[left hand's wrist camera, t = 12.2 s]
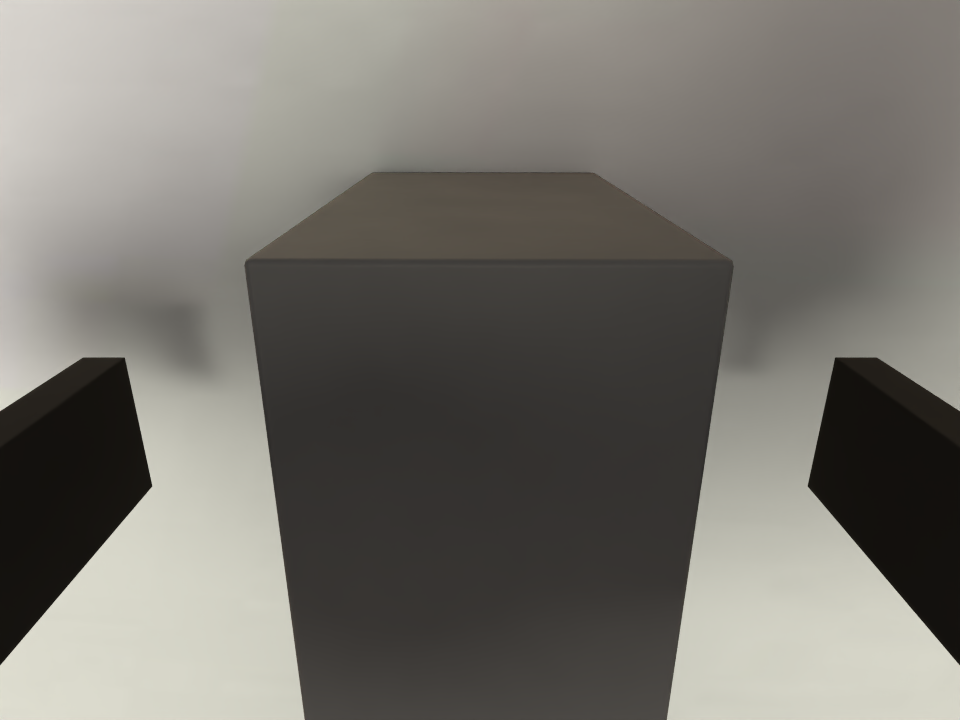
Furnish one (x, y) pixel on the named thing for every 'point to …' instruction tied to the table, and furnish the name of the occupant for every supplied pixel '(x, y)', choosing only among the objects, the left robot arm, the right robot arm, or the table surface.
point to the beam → (487, 443)
